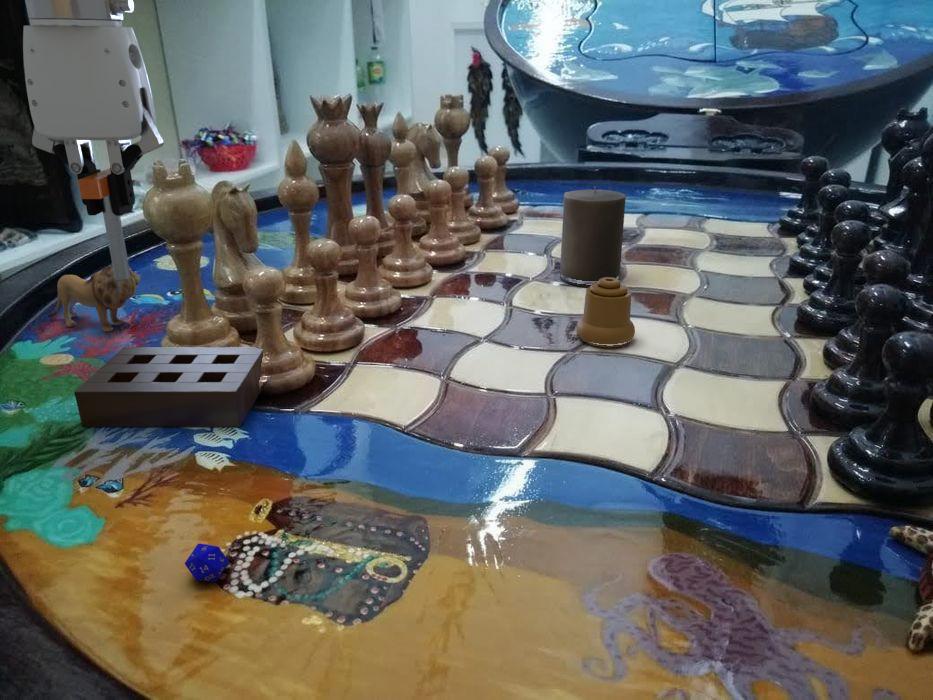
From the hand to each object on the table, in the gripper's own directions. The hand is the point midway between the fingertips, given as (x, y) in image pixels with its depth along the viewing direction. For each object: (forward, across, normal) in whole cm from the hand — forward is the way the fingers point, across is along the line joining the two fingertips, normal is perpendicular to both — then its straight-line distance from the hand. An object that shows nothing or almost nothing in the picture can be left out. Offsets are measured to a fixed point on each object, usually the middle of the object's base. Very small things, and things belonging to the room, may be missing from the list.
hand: (110, 211), depth 73 cm
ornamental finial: (+20, -54, -16) cm, 60 cm away
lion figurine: (+21, +15, -22) cm, 33 cm away
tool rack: (+20, -5, +2) cm, 21 cm away
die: (+20, -17, +30) cm, 40 cm away
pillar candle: (+20, -56, -42) cm, 73 cm away
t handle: (+7, 0, 0) cm, 7 cm away
